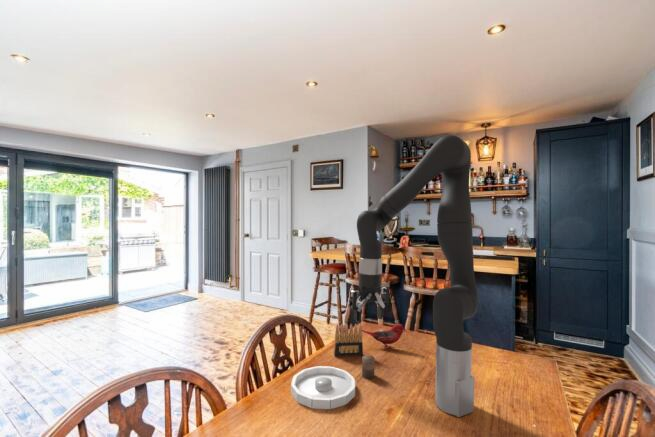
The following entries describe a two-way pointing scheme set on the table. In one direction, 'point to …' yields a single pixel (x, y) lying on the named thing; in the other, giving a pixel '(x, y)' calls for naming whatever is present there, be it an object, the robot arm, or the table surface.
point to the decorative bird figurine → (388, 334)
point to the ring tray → (323, 387)
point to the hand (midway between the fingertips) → (369, 320)
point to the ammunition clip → (348, 341)
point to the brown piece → (368, 366)
